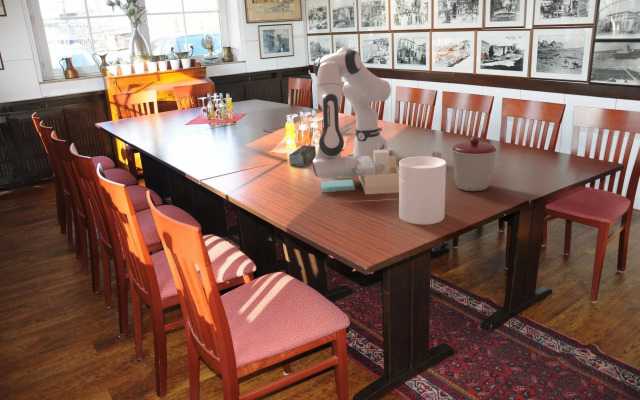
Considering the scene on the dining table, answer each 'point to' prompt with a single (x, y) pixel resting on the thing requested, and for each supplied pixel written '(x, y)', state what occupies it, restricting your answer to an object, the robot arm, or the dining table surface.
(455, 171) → the canister
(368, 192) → the beige open box
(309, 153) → the beverage carton
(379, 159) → the box
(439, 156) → the architectural model
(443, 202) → the canister
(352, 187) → the mat
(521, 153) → the dining table surface
